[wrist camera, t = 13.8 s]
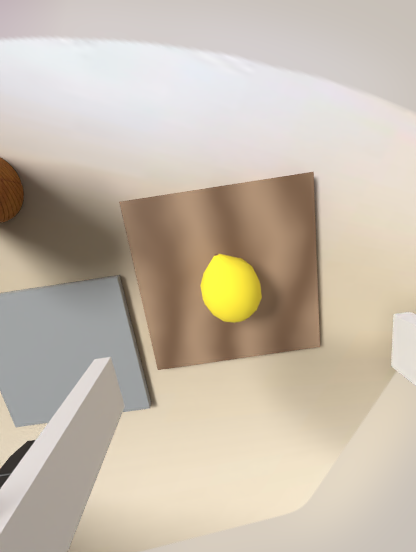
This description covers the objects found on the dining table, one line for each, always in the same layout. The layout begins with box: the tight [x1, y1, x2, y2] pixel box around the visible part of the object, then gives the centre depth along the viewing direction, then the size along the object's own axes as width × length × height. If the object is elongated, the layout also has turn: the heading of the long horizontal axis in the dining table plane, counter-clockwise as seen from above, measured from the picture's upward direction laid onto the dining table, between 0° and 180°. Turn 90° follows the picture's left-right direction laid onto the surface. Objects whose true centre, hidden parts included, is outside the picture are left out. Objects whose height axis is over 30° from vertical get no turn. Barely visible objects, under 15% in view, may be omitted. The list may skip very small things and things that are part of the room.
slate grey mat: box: [0, 275, 151, 427], centre depth 27 cm, size 16×16×1 cm
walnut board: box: [119, 172, 320, 370], centre depth 25 cm, size 18×18×1 cm
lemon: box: [200, 254, 262, 323], centre depth 22 cm, size 7×5×5 cm
